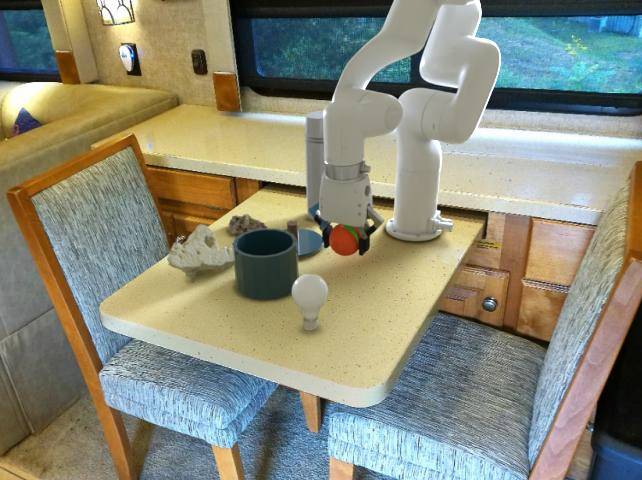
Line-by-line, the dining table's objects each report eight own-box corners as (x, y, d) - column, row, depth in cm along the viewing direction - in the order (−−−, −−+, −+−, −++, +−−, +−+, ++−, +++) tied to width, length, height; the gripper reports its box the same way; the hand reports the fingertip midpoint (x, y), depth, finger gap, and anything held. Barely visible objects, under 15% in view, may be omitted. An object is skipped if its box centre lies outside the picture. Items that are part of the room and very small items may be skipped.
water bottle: (305, 223, 145) (302, 119, 132) (308, 209, 152) (305, 110, 138) (343, 223, 144) (344, 119, 130) (344, 210, 150) (345, 109, 137)
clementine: (372, 257, 123) (372, 226, 119) (345, 267, 121) (344, 236, 117) (349, 242, 129) (349, 212, 125) (323, 252, 127) (321, 222, 123)
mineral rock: (218, 224, 142) (237, 204, 146) (222, 237, 145) (241, 218, 149) (253, 235, 136) (273, 214, 140) (257, 249, 140) (276, 228, 143)
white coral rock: (224, 258, 136) (166, 227, 130) (242, 241, 132) (183, 207, 125) (214, 310, 127) (152, 279, 120) (234, 294, 122) (169, 260, 115)
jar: (309, 276, 123) (308, 235, 118) (277, 306, 114) (275, 263, 109) (258, 263, 129) (255, 223, 124) (224, 291, 120) (219, 249, 115)
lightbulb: (286, 326, 109) (283, 273, 103) (315, 315, 111) (314, 263, 105) (305, 343, 104) (303, 289, 98) (335, 331, 106) (335, 278, 100)
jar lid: (334, 239, 137) (334, 216, 134) (305, 265, 127) (304, 241, 124) (283, 228, 143) (282, 206, 140) (252, 252, 134) (250, 229, 131)
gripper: (394, 167, 113) (392, 249, 123) (313, 156, 121) (317, 233, 131) (378, 182, 108) (377, 266, 118) (295, 169, 116) (300, 249, 126)
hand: (345, 248), depth 124 cm, fingers closed on clementine, 7 cm apart
